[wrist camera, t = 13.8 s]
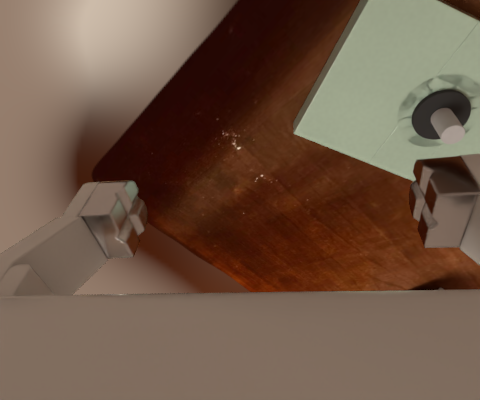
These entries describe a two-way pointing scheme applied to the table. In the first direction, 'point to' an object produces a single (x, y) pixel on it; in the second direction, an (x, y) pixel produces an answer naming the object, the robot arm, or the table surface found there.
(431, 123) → the stopper
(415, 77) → the drain plate
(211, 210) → the table surface
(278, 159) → the table surface
